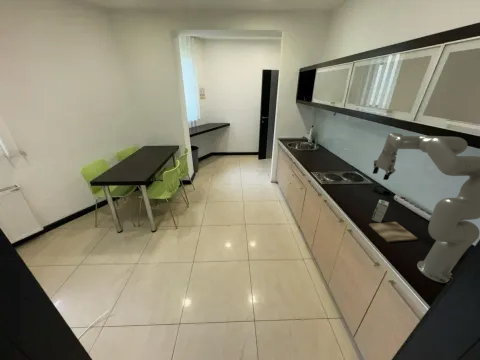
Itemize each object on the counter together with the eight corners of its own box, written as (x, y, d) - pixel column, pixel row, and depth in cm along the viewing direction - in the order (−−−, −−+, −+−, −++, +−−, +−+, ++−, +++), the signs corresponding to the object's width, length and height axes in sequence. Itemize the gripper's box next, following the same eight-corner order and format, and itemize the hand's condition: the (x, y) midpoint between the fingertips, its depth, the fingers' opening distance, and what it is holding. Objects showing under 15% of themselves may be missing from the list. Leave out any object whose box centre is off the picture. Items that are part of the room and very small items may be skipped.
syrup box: (372, 216, 142) (379, 199, 136) (382, 219, 139) (389, 202, 133) (371, 219, 138) (378, 202, 132) (381, 223, 135) (388, 205, 129)
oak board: (416, 239, 121) (417, 238, 120) (387, 242, 119) (388, 240, 118) (395, 223, 135) (395, 221, 135) (368, 225, 133) (369, 223, 132)
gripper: (406, 157, 119) (395, 182, 127) (384, 148, 134) (375, 171, 142) (394, 157, 118) (384, 182, 126) (374, 148, 134) (366, 171, 141)
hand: (379, 176), depth 134 cm, fingers open, 9 cm apart
